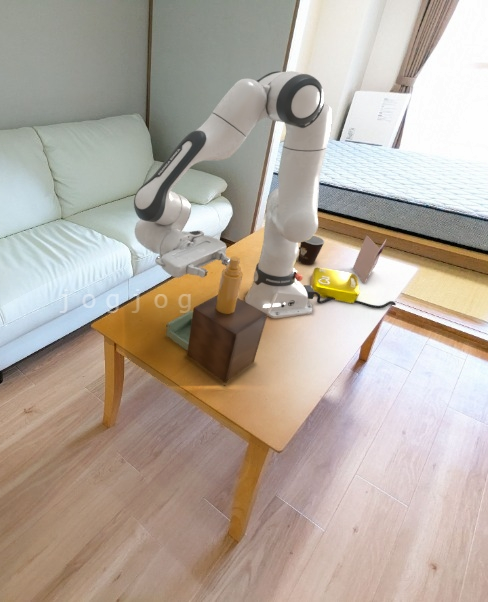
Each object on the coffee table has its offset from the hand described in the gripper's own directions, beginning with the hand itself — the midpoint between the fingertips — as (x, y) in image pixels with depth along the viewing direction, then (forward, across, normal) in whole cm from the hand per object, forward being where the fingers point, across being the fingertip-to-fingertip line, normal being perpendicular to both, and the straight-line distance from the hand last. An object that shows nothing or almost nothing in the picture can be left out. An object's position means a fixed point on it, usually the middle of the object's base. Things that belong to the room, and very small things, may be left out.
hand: (217, 268), depth 95 cm
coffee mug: (-10, +76, +28) cm, 82 cm away
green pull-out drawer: (-5, 0, +28) cm, 29 cm away
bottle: (+5, 0, +10) cm, 11 cm away
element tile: (+9, +63, +28) cm, 70 cm away
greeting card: (+11, +82, +28) cm, 87 cm away
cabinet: (+6, 0, +28) cm, 29 cm away
